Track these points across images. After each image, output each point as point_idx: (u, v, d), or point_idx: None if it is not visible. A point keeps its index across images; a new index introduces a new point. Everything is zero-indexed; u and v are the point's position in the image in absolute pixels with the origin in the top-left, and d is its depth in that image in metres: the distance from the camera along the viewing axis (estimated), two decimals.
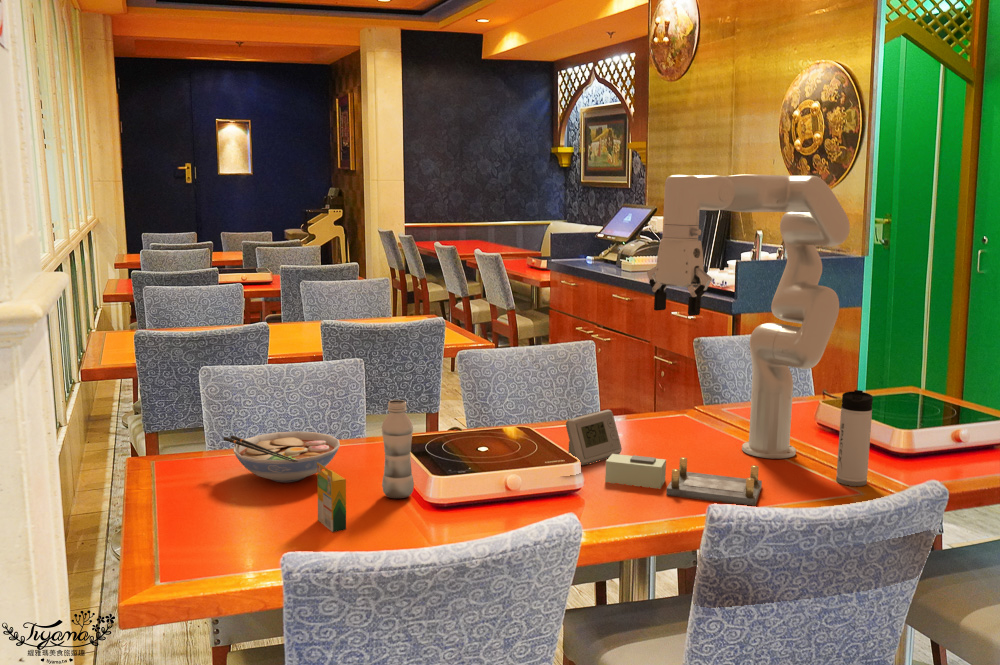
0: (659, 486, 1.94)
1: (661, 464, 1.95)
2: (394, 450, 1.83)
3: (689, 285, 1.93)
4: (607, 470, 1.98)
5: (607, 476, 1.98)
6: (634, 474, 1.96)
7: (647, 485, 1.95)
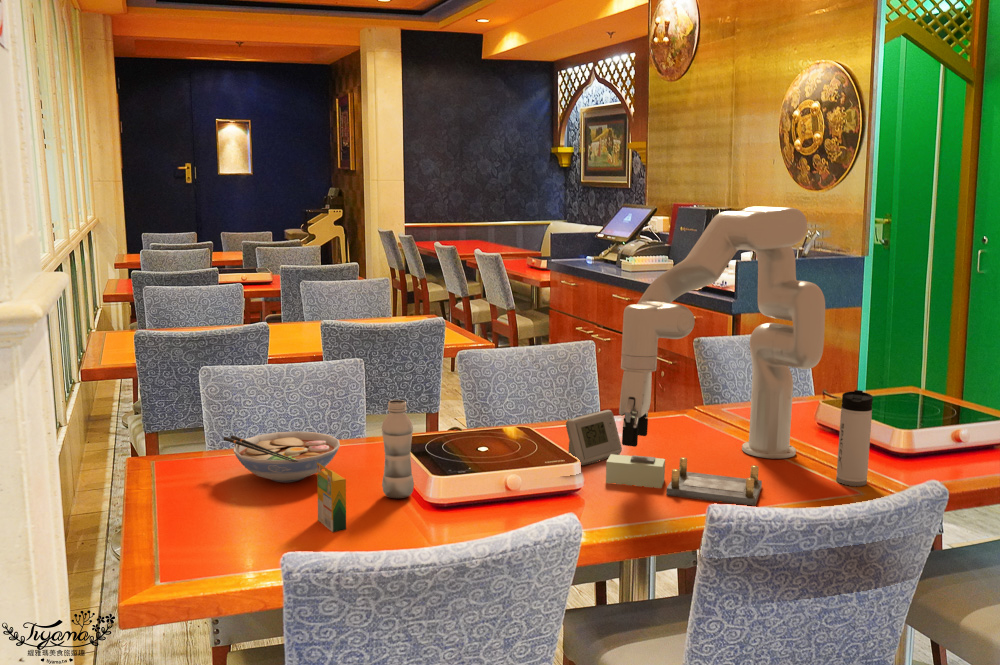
0: (660, 485, 1.95)
1: (661, 464, 1.96)
2: (394, 450, 1.83)
3: None
4: (608, 471, 1.97)
5: (608, 477, 1.98)
6: (635, 474, 1.96)
7: (648, 485, 1.95)
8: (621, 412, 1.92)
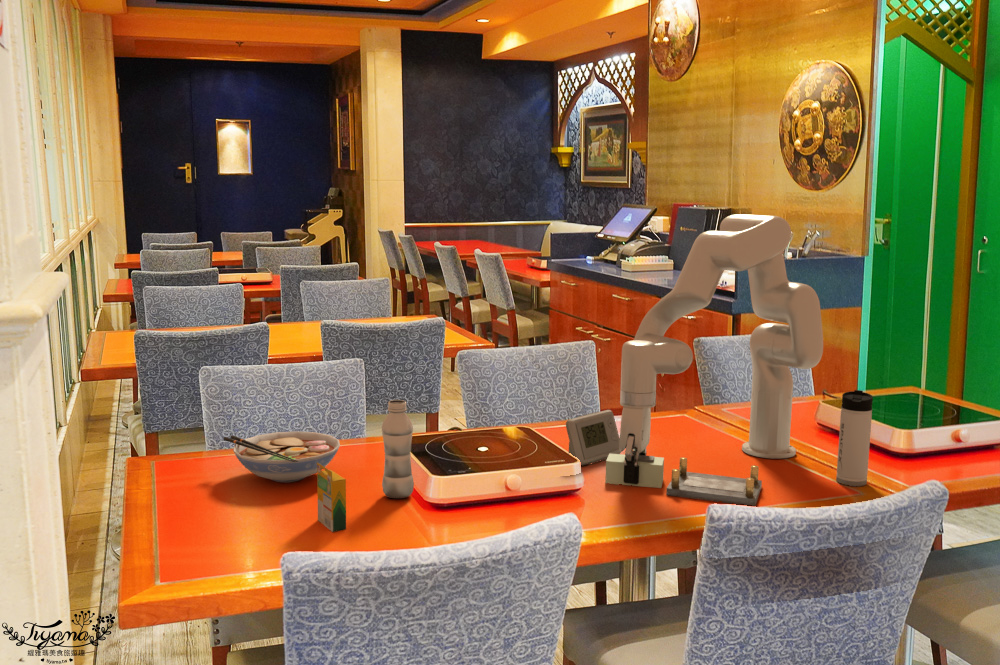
0: (660, 484, 1.95)
1: (661, 463, 1.96)
2: (394, 450, 1.83)
3: None
4: (607, 470, 1.97)
5: (607, 476, 1.97)
6: None
7: (648, 484, 1.95)
8: (621, 448, 1.94)
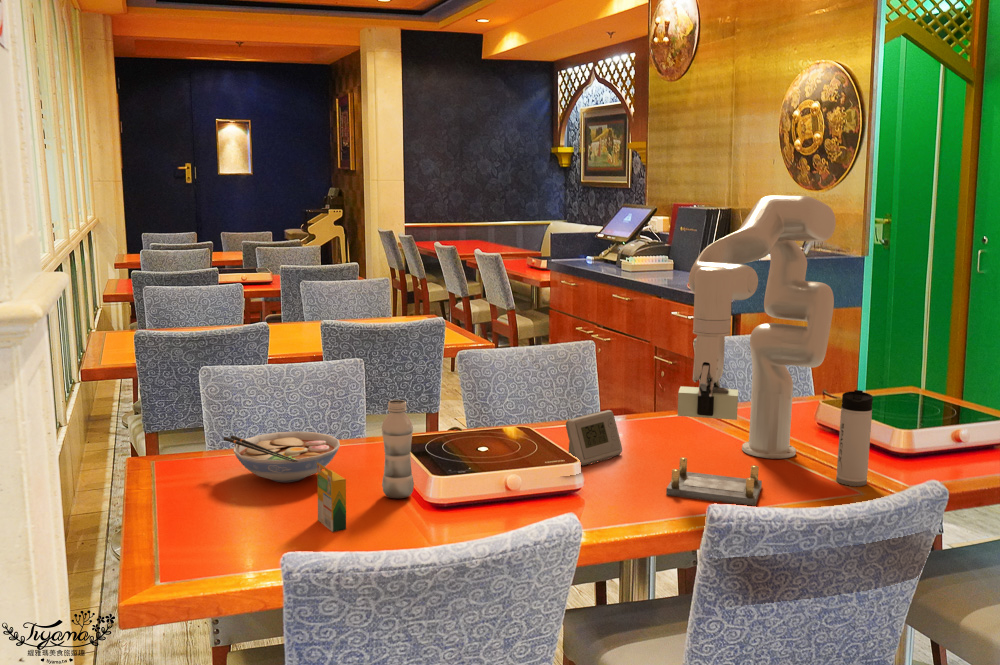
0: (736, 416, 1.87)
1: (736, 394, 1.88)
2: (394, 450, 1.83)
3: None
4: (680, 402, 1.90)
5: (680, 408, 1.90)
6: None
7: (723, 415, 1.88)
8: (695, 378, 1.86)
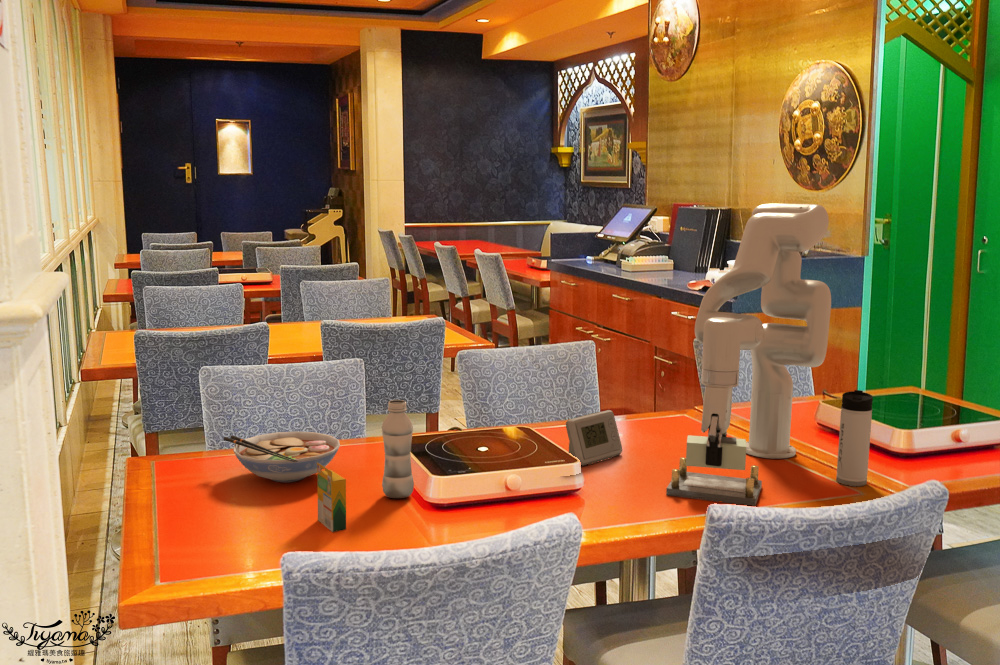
0: (744, 466, 1.88)
1: (744, 444, 1.89)
2: (394, 450, 1.83)
3: None
4: (688, 452, 1.90)
5: (688, 458, 1.90)
6: None
7: (731, 466, 1.88)
8: (704, 429, 1.87)
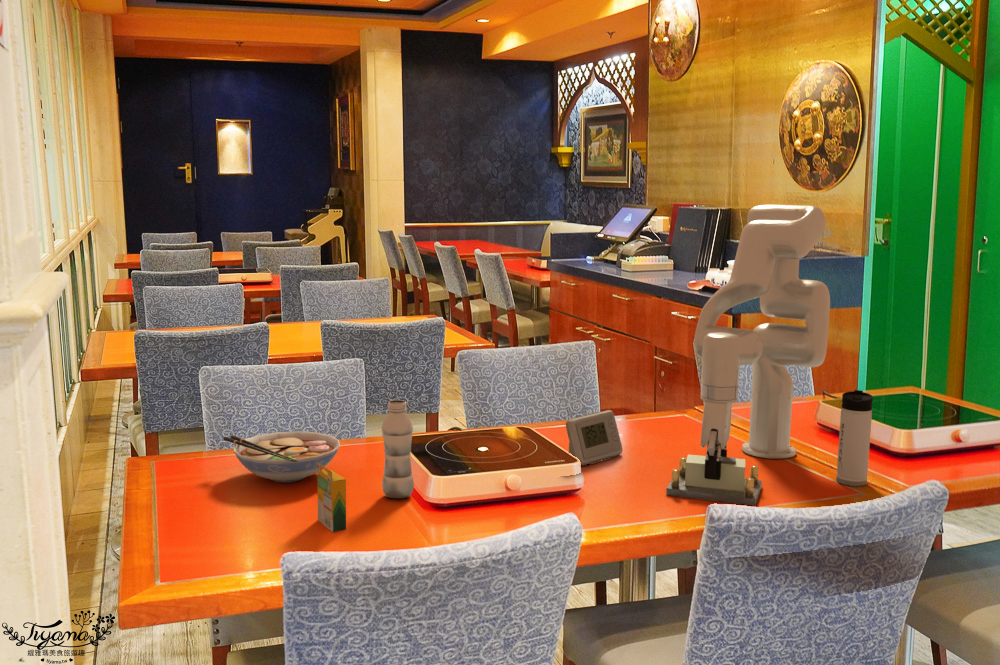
0: (743, 487, 1.88)
1: (743, 464, 1.89)
2: (394, 450, 1.83)
3: None
4: (687, 472, 1.91)
5: (687, 478, 1.91)
6: None
7: (730, 486, 1.89)
8: (703, 444, 1.87)
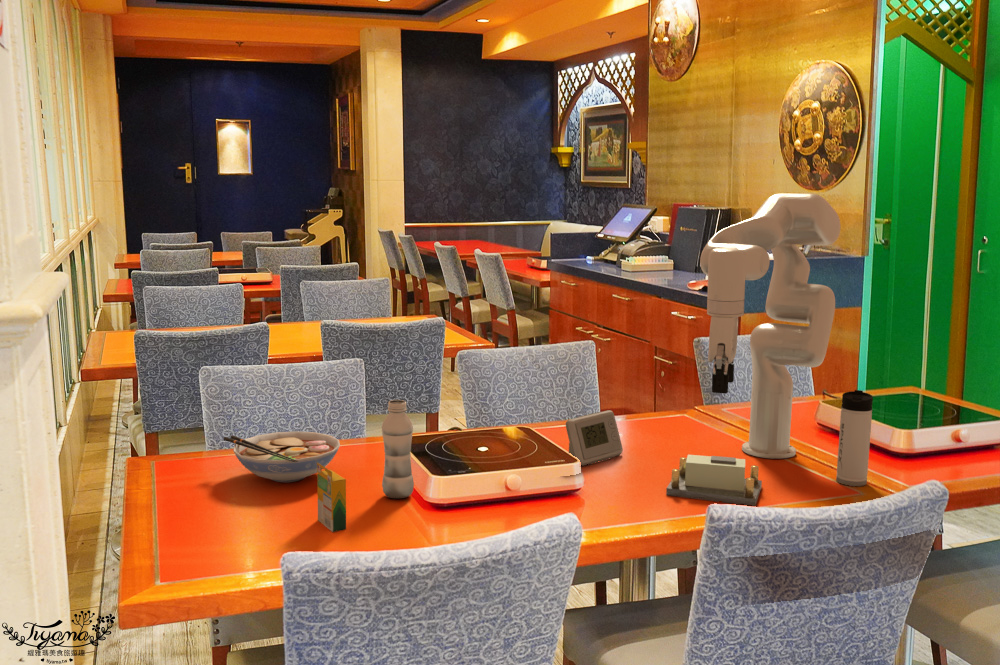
0: (743, 487, 1.88)
1: (743, 464, 1.89)
2: (394, 450, 1.83)
3: None
4: (687, 472, 1.91)
5: (687, 478, 1.91)
6: (716, 475, 1.90)
7: (730, 486, 1.89)
8: (710, 359, 1.88)
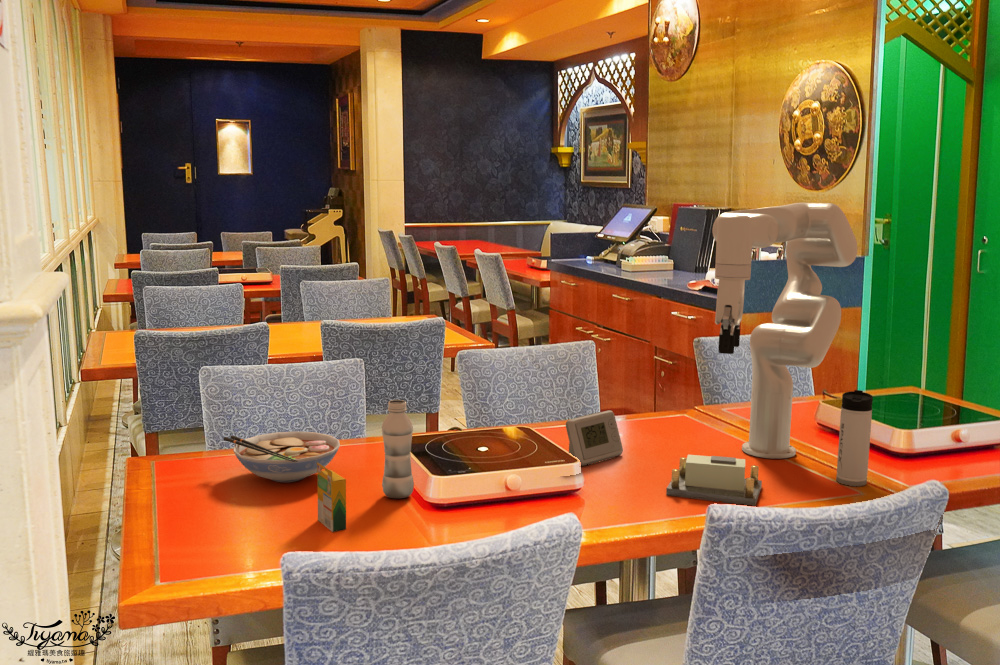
0: (743, 487, 1.88)
1: (743, 464, 1.89)
2: (394, 450, 1.83)
3: None
4: (687, 472, 1.91)
5: (687, 478, 1.91)
6: (716, 475, 1.90)
7: (730, 486, 1.89)
8: (717, 320, 1.96)
